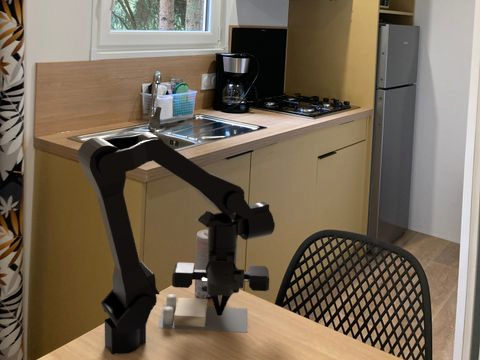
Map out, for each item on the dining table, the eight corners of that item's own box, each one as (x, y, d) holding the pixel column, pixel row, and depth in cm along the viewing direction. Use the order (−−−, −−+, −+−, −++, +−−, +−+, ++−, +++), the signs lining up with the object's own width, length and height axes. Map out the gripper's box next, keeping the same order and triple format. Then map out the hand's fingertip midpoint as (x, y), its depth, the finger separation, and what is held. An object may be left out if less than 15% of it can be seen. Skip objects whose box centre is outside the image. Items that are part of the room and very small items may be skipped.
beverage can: (219, 303, 116) (222, 239, 112) (193, 302, 116) (195, 237, 112) (220, 291, 122) (223, 229, 117) (195, 289, 122) (198, 227, 117)
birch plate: (174, 325, 105) (174, 315, 105) (178, 306, 112) (178, 297, 111) (204, 326, 105) (205, 316, 105) (207, 308, 112) (207, 299, 111)
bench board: (157, 332, 104) (157, 314, 103) (164, 308, 113) (164, 291, 112) (247, 336, 105) (248, 318, 103) (246, 312, 113) (248, 295, 112)
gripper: (168, 259, 96) (168, 335, 101) (273, 263, 96) (267, 339, 101) (175, 234, 107) (174, 305, 111) (269, 238, 107) (265, 308, 112)
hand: (219, 314), depth 109 cm, fingers closed
